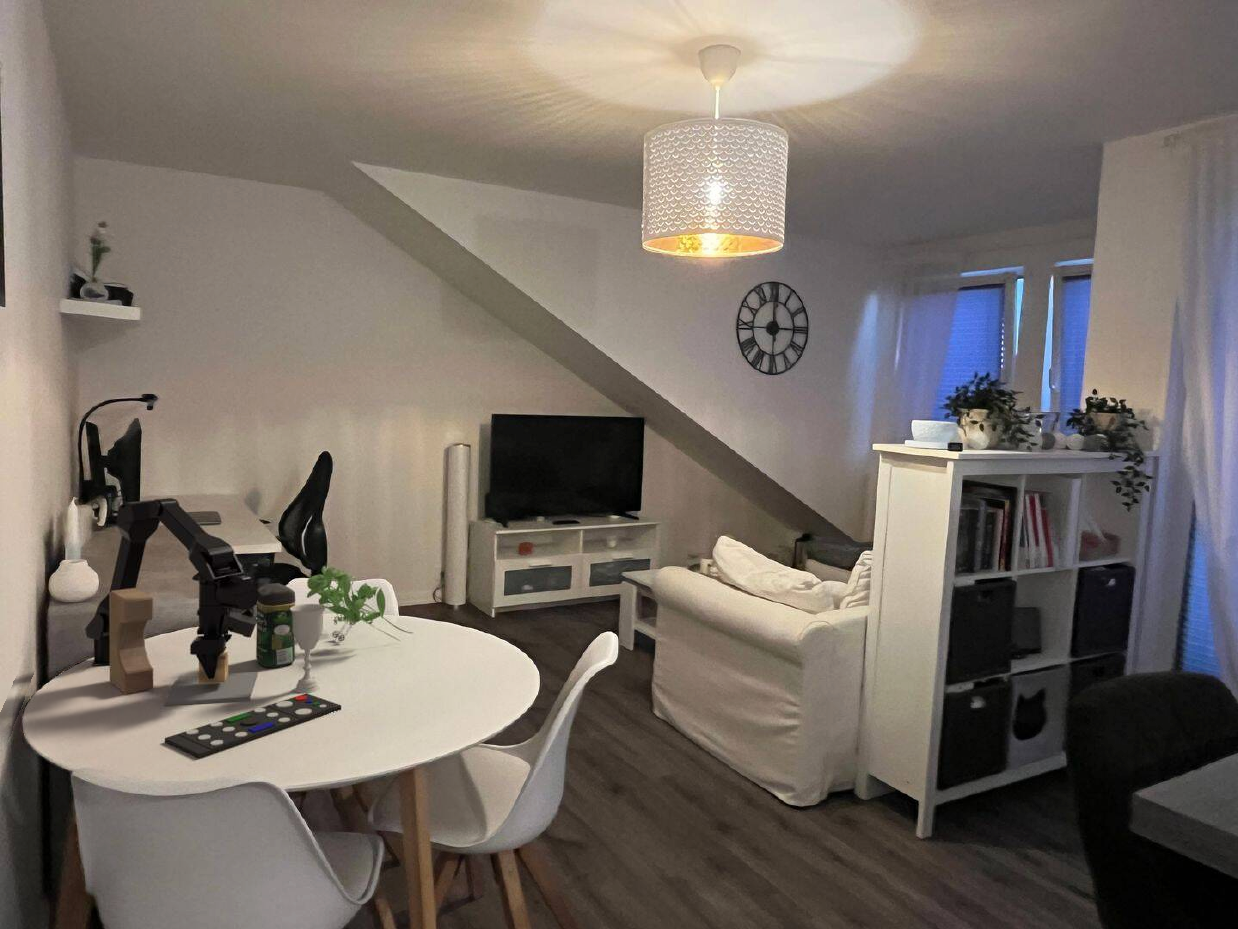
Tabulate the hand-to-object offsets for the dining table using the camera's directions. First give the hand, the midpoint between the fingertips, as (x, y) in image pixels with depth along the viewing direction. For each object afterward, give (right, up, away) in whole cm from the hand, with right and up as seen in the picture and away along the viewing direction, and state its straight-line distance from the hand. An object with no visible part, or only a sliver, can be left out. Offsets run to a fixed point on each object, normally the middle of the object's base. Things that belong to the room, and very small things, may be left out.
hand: (213, 674), depth 182 cm
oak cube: (0, -1, 0) cm, 1 cm away
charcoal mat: (0, -3, 0) cm, 3 cm away
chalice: (+19, -4, +3) cm, 20 cm away
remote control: (+17, -6, -17) cm, 25 cm away
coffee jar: (+5, -2, +20) cm, 20 cm away
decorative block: (-18, -3, +1) cm, 18 cm away
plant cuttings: (+18, -1, +41) cm, 45 cm away
